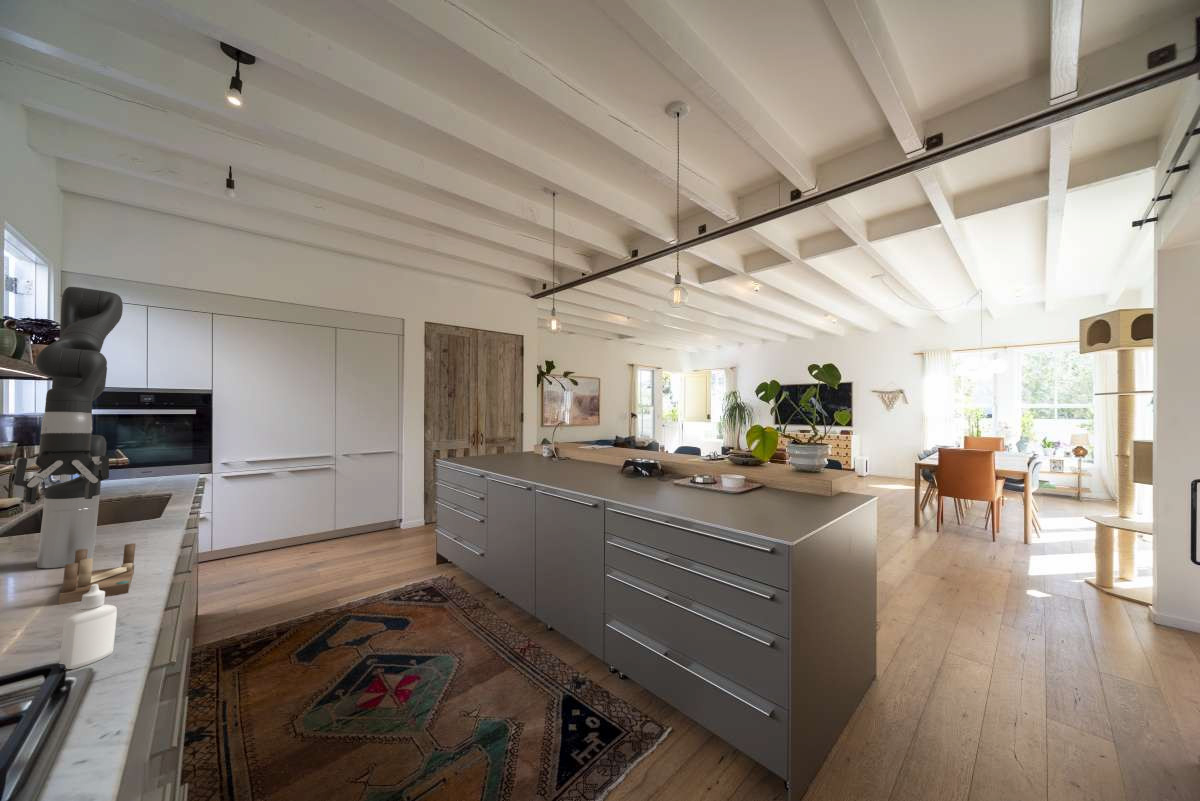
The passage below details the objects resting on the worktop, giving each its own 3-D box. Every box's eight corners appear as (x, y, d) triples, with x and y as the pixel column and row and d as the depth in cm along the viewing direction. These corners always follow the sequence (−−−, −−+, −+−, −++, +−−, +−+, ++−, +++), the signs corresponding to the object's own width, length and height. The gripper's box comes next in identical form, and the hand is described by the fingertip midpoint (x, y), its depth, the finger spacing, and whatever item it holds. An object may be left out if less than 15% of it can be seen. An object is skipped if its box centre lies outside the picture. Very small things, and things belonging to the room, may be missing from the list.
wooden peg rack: (72, 582, 100) (76, 549, 100) (133, 573, 106) (136, 542, 107) (58, 604, 88) (62, 567, 89) (127, 592, 95) (131, 558, 95)
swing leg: (126, 568, 103) (128, 546, 103) (134, 568, 103) (136, 546, 103) (74, 585, 92) (77, 560, 92) (83, 585, 92) (86, 561, 92)
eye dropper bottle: (113, 659, 70) (121, 583, 70) (58, 673, 65) (67, 593, 66) (112, 649, 72) (119, 577, 73) (59, 663, 68) (67, 585, 69)
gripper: (104, 432, 110) (98, 497, 108) (11, 432, 97) (4, 505, 95) (117, 431, 106) (111, 498, 105) (23, 431, 94) (15, 506, 92)
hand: (60, 501), depth 100 cm, fingers open, 8 cm apart
